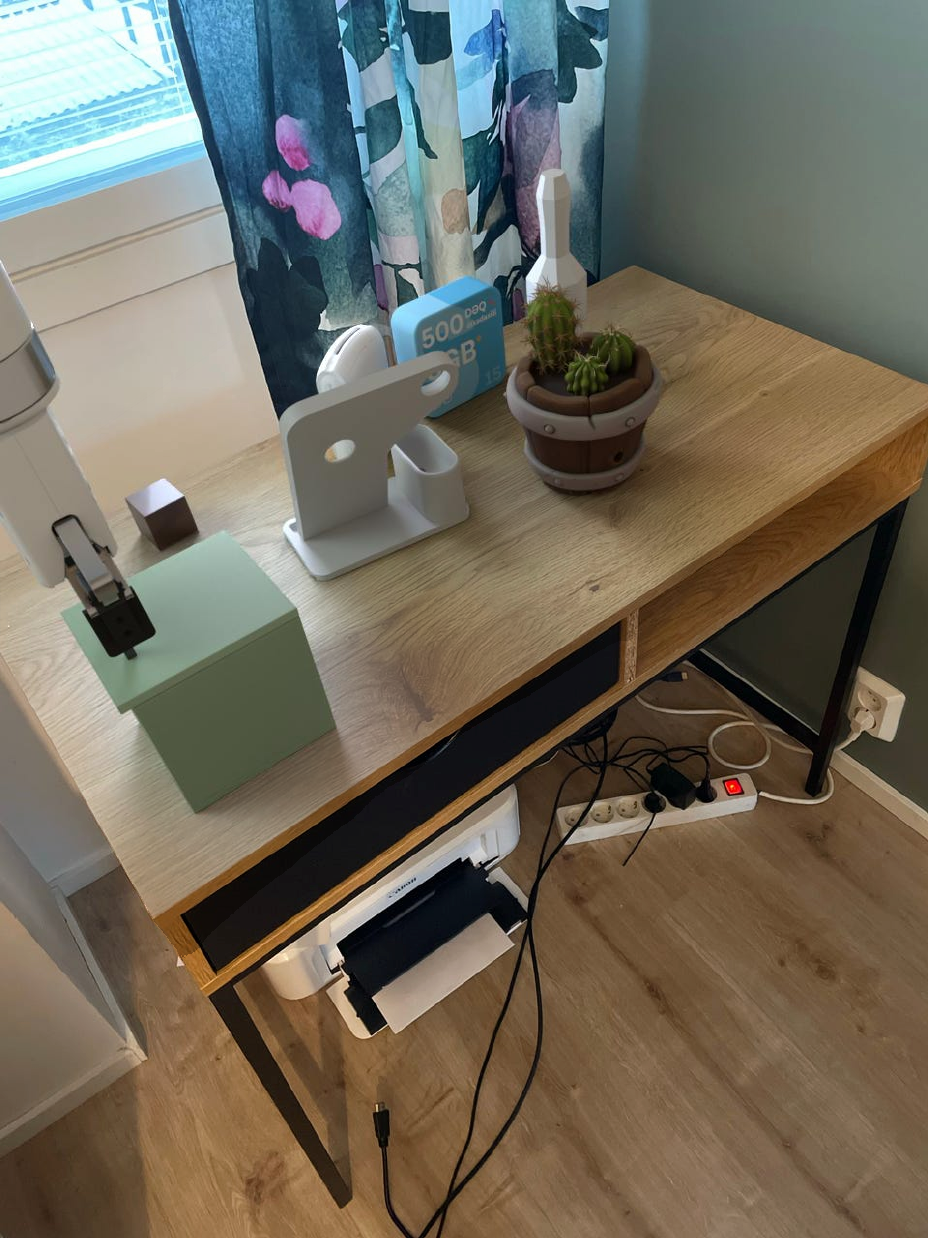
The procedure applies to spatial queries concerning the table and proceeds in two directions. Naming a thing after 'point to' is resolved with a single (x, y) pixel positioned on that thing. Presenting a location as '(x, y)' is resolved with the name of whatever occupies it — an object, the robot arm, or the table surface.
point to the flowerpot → (581, 398)
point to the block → (162, 514)
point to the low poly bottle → (557, 245)
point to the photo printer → (351, 365)
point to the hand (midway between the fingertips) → (106, 603)
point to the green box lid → (186, 618)
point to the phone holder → (371, 467)
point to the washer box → (238, 715)
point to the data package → (455, 335)
